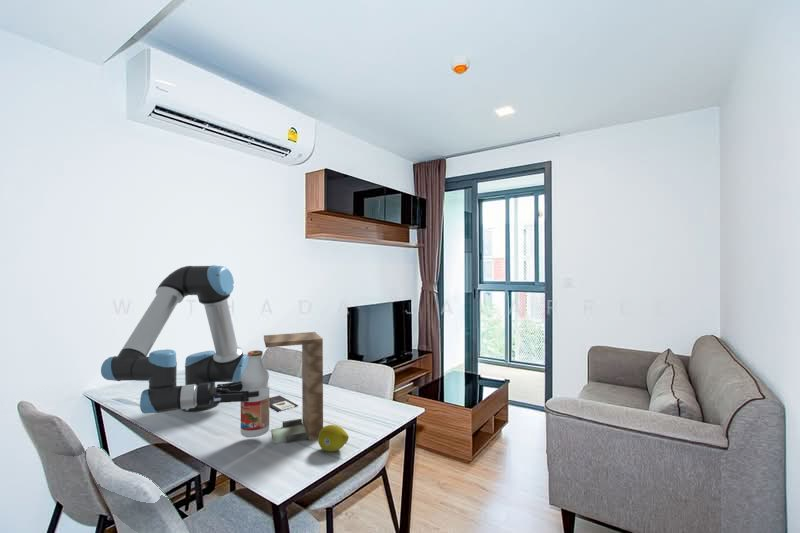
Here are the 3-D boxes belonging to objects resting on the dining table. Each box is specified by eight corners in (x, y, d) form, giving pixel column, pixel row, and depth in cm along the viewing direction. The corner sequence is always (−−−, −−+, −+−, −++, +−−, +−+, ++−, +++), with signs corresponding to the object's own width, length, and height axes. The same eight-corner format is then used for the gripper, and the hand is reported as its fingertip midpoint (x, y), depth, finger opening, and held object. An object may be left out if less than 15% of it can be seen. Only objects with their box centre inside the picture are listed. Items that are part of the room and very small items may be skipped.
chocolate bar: (279, 395, 176) (298, 405, 163) (279, 397, 176) (298, 407, 163) (260, 399, 170) (278, 410, 157) (260, 402, 170) (278, 412, 157)
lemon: (311, 451, 122) (311, 426, 122) (328, 441, 129) (328, 418, 129) (337, 459, 117) (337, 434, 117) (353, 449, 123) (352, 425, 124)
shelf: (266, 447, 125) (265, 343, 125) (264, 428, 140) (263, 335, 140) (323, 437, 132) (322, 338, 133) (315, 420, 147) (315, 331, 147)
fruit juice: (274, 432, 130) (273, 351, 130) (246, 440, 124) (246, 356, 124) (263, 424, 137) (262, 347, 137) (236, 431, 131) (236, 351, 131)
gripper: (201, 396, 134) (267, 388, 142) (192, 419, 114) (270, 408, 122) (201, 375, 134) (267, 369, 142) (192, 394, 114) (270, 385, 122)
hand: (268, 387), depth 132 cm, fingers closed on fruit juice, 9 cm apart
